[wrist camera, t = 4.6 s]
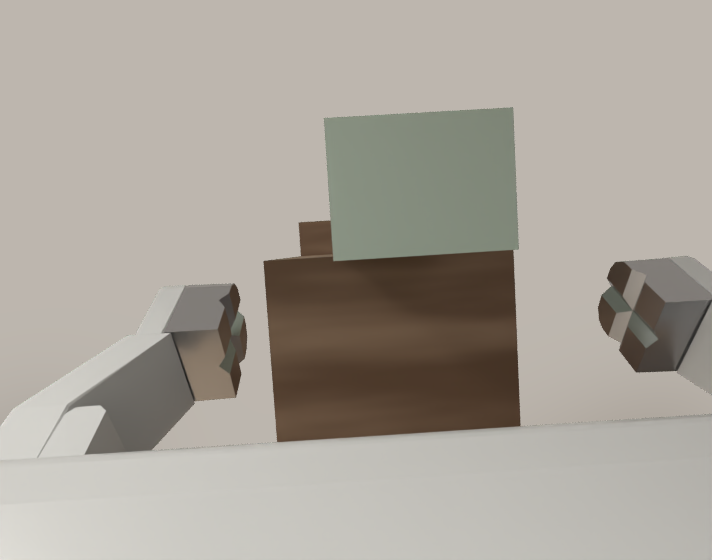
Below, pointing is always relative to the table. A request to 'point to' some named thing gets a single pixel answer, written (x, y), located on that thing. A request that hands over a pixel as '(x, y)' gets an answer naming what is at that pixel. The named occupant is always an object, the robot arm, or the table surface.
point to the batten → (422, 183)
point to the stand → (390, 342)
